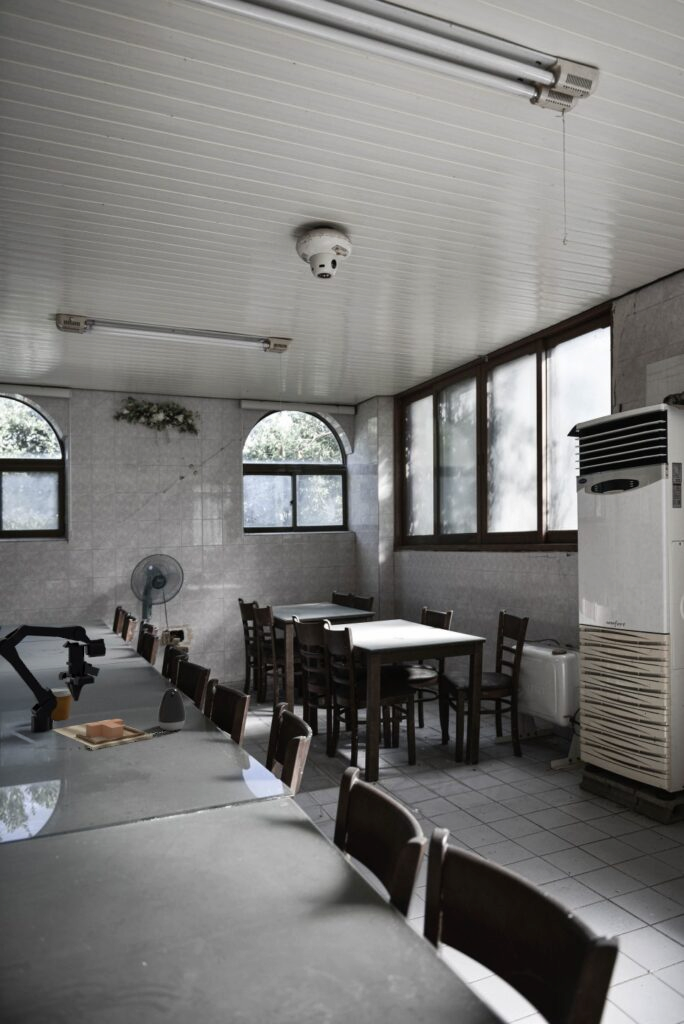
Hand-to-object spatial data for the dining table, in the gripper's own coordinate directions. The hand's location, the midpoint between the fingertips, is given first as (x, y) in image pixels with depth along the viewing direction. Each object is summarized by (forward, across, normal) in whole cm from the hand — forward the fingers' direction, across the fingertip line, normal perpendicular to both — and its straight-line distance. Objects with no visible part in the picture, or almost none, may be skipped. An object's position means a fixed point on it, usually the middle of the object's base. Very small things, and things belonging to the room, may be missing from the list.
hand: (76, 701), depth 271 cm
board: (+10, -17, -2) cm, 20 cm away
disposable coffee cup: (+10, +17, -1) cm, 20 cm away
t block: (+9, -24, -2) cm, 26 cm away
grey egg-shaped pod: (+10, -28, -24) cm, 38 cm away
